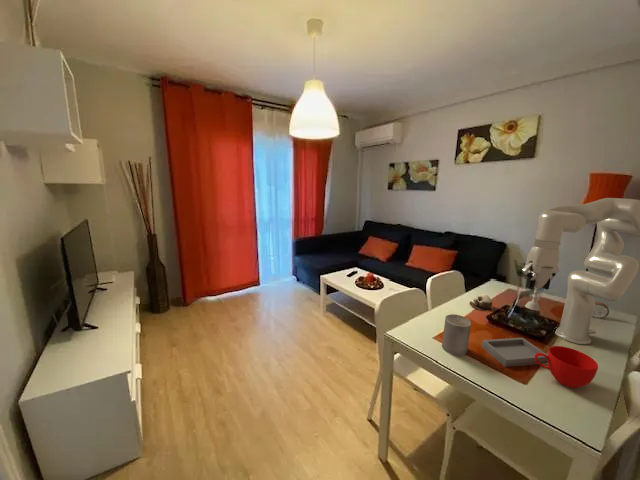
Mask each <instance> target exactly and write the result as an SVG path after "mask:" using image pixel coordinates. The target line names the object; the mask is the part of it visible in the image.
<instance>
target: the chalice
mask: <svg viewBox="0 0 640 480" xmlns="http://www.w3.org/2000/svg"><path fill="white" fill-rule="evenodd" d="M541 269H542V271H541V272H540V273H539V274H537V276H536V277H535V279H534V280H535V286H534V291H533V294H532V300H530V301H529V300H528V301H527V302H526V304H524V306H525V308H527V309H529V310H532V311H541V307H540V303H539V302H537V298H538V294H539V289H543V288H542V287H543V286H544V285H545V284H546V283H547V281H548V280H549V277H550V273H551V270H552V269H553V268H551V269H550V268H542V267H541ZM532 271H533V270H532ZM531 275H533V273H532V274H531Z"/></svg>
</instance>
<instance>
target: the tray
mask: <svg viewBox="0 0 640 480" xmlns="http://www.w3.org/2000/svg"><path fill="white" fill-rule="evenodd" d="M481 348H482V349H484V350H485V351H486V353H487V352H488V353H489V354H490V355H491V356H492V357H493V358H494V359H496V360H497V361H498V363H500V365H502V366H504V368H506V367H508V368H509V367H519V366H533V365H539V364H538V363H537V362H536V361H535V354H537V353H543V354H545V355H547V356H548V353H546V352H544V351H543V350H542V349H540V348H539V347H537V346H535V345H534V344H533V343H531V342H530V341H528V340H527V339H526V338H524V337H513V338H498V339H497V338H496V339H495V338H494V339H483V340H481ZM537 360H538V361H539V362H540V363H541V364H543V365H545V364H548V360H547V358H546V357H544V356H538V357H537Z"/></svg>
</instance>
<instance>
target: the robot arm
mask: <svg viewBox="0 0 640 480" xmlns="http://www.w3.org/2000/svg"><path fill="white" fill-rule="evenodd" d="M537 222H538V225H537V229H536V232H535V233H536V234H535V239H534V244H533V246H531V248H530V249H529V252H528V254H527V257H526V261H525V265H524V268H522V269H521V271H522V273H523V274H524V276H525V278H526V283H525V288H526V289H529V290H531V291H533V290H535V287H534V286H535V280H534V279H535V277H536V276H537V274H539V273H540V272H541V271H542V269H541V267H542V268H550V269H551V268H553V269H552V270H551V273H550V277H549V280H548V281H547V283H546V284H545V285H544V286H543V287H542V288H541V289H543V290H544V289H545V290H549V289H550V285H551V281H552V280H553V279H554V277H556V275H557V274H558V273H559V272H560V269H559V268H558V265H559V260H560V245H561V241H562V237H563V233H569V234H571V233H572V234H573V233H578V232H581V231H582V230H584V229H585V227H586V225H594V224H596V229H597V240H596V243H595V244H594V245H593V247H592V248H591V250H590V251H589V253H588V255H587V256H586V258H585V259H584V262H583V266H584V267H585V268H586V269H588V271H587V270H583V269H581V270H580V269H579V270H573V271H571V272H570V273H569V274H568V276H567V293H566V299H565V302H564V307H563V311H562V315H561V319H560V323H559V326H557V327H558V328H557V327H556V328H557V329H556V331H555V333H554V334H555V335H556V336H557V337H559V338H561V339H562V340H565V341H567V342H570V343H574V344H577V345H590V344H591V343H592V338H591V337H590V336H589V335H591V334H593V335H595V334H596V333H597V331H596V329H594V328H591V329H590V327H591V323H592V320H593V317H592V316H593V312H594V308H595V298H599V299H601V300H604V301H608V302H617V301H618V300H620V299H621V298H622V297H623V295H624V294H625V292H626V291H627V289H628V287H629V286H630V285H631V283H632V282H633V280H634V279H635V277H636V276H637V274H638V272H639V268H640V264H639V261H638V259H636V258H635V257H632V256H629V255H624V254H621V253H622V251H623V250H624V248H625V242H624V240H623V238H622V236H621V235H620V234H619V233H623V234H631V235H636V236H637V235H639V236H640V199H637V198H636V199H635V198H634V199H633V198H620V197H619V198H618V197H605V198H601V199H598V200H594V201H591V202H587V203H583V204H582V203H581V204H573V205H564V206H563V205H561V206H556V207H551V208H548V209H546V210H544V211H543V212H541V213H540V215H539V216H538V218H537ZM532 270H533V271H532ZM532 273H533V275H531V274H532ZM594 297H595V298H594Z"/></svg>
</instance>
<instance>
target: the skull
mask: <svg viewBox="0 0 640 480" xmlns="http://www.w3.org/2000/svg"><path fill="white" fill-rule="evenodd" d="M469 305H470V306H471V307H472V308H474V309H476V310H477V311H481V312H487V311H489V310H494V309H495V307H493V300H492V298H491V297H490V296H489V295H487V294H485V293H482V294H481V293H480V294H479V295H477V296H476V297H474V298H473V299H472V300H471V301H469Z"/></svg>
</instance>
